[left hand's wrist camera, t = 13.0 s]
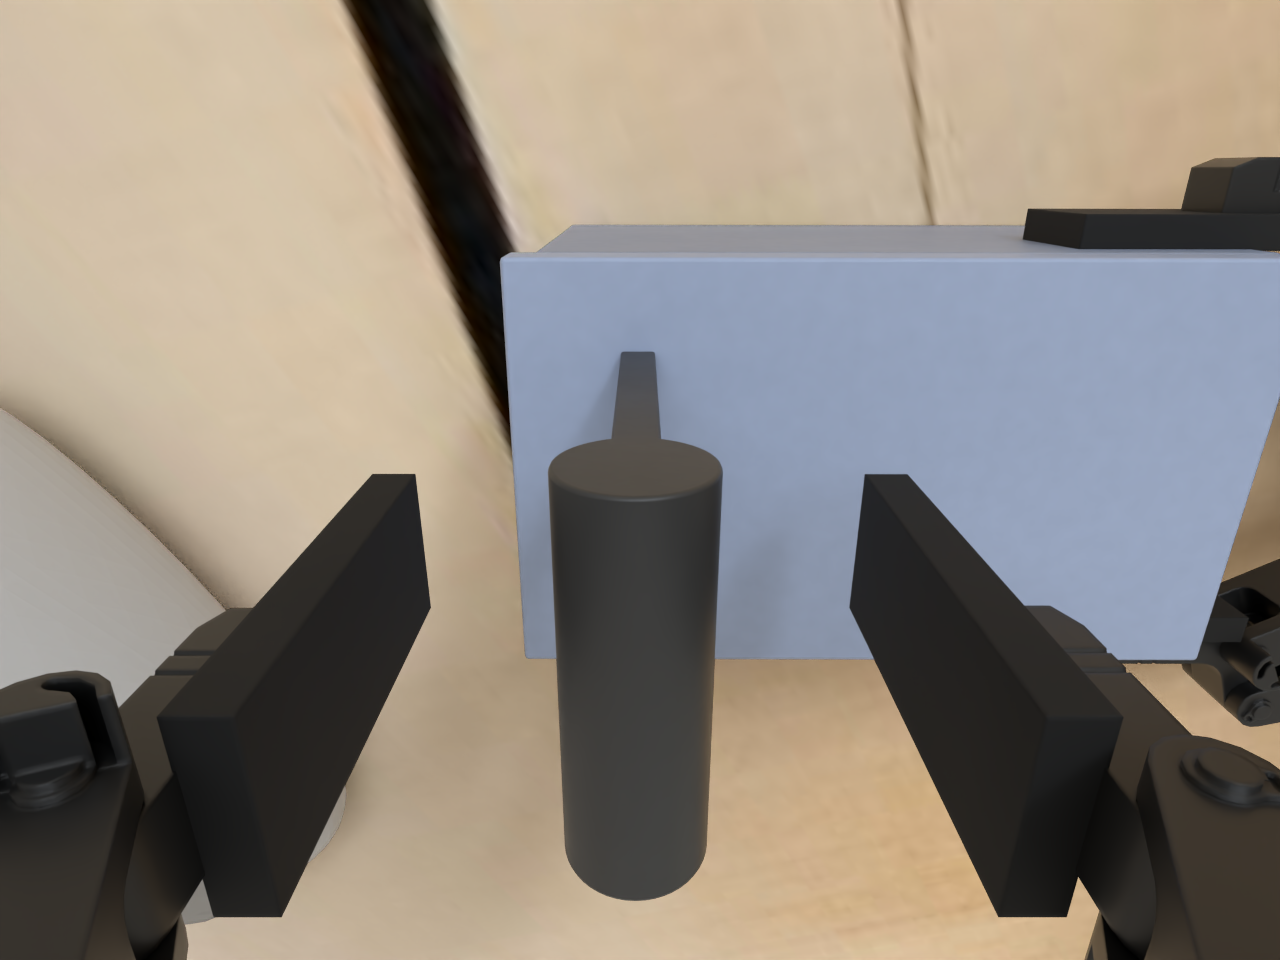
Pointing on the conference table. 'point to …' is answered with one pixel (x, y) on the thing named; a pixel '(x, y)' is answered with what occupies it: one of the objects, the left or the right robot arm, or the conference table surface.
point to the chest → (819, 240)
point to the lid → (850, 474)
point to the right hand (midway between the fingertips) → (1012, 433)
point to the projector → (90, 586)
